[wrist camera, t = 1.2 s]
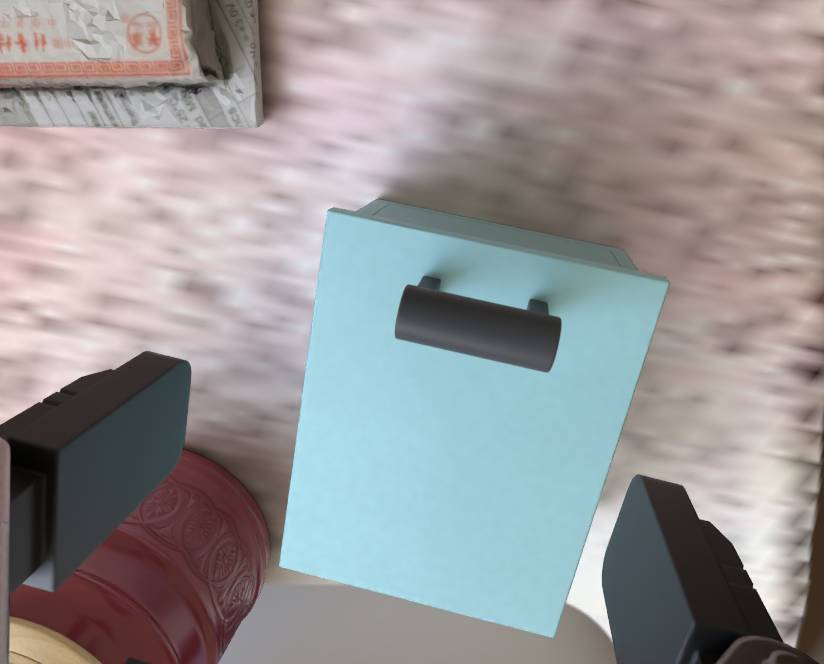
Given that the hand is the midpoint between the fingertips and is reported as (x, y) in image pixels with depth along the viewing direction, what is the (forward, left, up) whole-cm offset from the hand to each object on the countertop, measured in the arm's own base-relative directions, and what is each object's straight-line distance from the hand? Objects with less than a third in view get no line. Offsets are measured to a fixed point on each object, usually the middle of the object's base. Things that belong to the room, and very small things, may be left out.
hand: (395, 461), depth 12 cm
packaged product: (+10, -19, -23) cm, 32 cm away
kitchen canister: (+26, +6, -23) cm, 36 cm away
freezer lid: (+4, +5, -14) cm, 16 cm away
